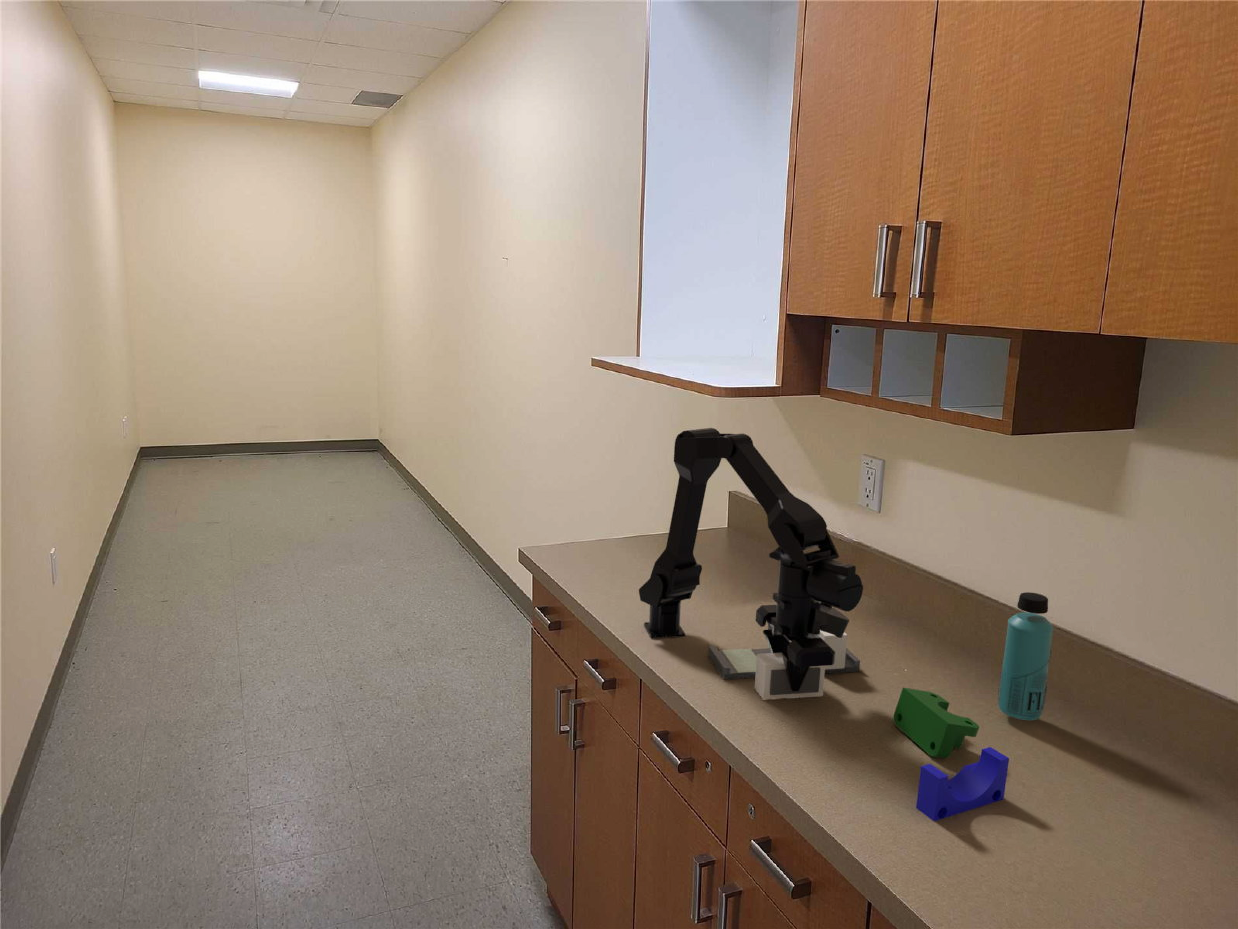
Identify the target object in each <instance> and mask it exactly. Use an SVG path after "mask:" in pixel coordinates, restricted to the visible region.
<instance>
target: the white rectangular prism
mask: <svg viewBox="0 0 1238 929" xmlns="http://www.w3.org/2000/svg"><path fill="white" fill-rule="evenodd" d="M825 675H826V674H825V666H810V668H809V669H808V671H807V674H806V676H805V678H804V680H803V682H802V685H801V687H800V689H799V691H792V690H791V687H790V683H789V680H788V676H787V672H786V668H785V665H784V661H783V657H782V654H781V653H763V654H757V659H756V674H755V678H754V690H755V689H756V690H755V691H756V692H757V694H758V693H759V694H758V695H759V697H760V696H761V697H762V698H763V699H771V700H774V699H773V698H786V699H796V698H797V699H799V697H800V699H801V698H815V697H823V696H824V685H825ZM761 697H760V698H761ZM762 698H761V699H762ZM763 699H762V700H763Z"/></svg>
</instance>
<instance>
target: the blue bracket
mask: <svg viewBox="0 0 1238 929" xmlns="http://www.w3.org/2000/svg"><path fill="white" fill-rule="evenodd" d="M1009 762H1010V758H1009V756H1006V755H1005V754H1003V753H1001V752H1000V751H999V750H997V749H995V748H993V747H991V746H988V747H985V748H981V752H980V756H979V760H978V762H975V763H974V762H973V763H970V764H966V765H964V766H962V768H961V769H960V771H959V772H957V773H956V774H955V775H954V776H953V777H951V778H949V775H948V774H946V773H945V772H943V771H942V770H940V769H939V768H937V767H936V766H934V765H933V764H931V763H927V764H924V765H921V766H920V771H919V772H920V773H919V780H918V789H917V800H916V807H915V808H916V810H918V811H920V812H921V813H922V814H923V815H924V816H926V817H927V818H929V819H930V820H931V821H933V822H937V821H939V820H943V819H946V818H948V817H953V816H956V815H958V814H962V813H964V812H967V811H971V810H974V809H977V808H980V807H983V806H987V805H990V804H993V803H996V802H999V801H1002V800H1004V799H1005V792H1006V791H1005V790H1006V783H1007V777H1008V772H1009V770H1008V769H1009Z"/></svg>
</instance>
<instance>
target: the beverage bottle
mask: <svg viewBox="0 0 1238 929" xmlns="http://www.w3.org/2000/svg"><path fill="white" fill-rule="evenodd" d="M1017 609H1019V610H1021V611H1022V612H1018V613H1015V615H1012V616H1011V617H1010V618H1008V619H1007V629H1006V637H1005V646H1004V647H1005V648H1004V655H1003V658H1002V666H1001V674H1000V678H999V680H1000V681H999V686H998V687H999V688H998V692H997V701H996V703H997V705H998V709H999V710H1000V711H1001V713H1003V714H1005V715H1007V716H1009V717H1011V718H1014V719H1018V720H1022V721H1023V720H1024V721H1036V720H1038V719H1040V718H1041V717H1042V715H1043V712H1044V709H1045V708H1044V707H1045V706H1044V705H1045V703H1046V695H1047V682H1048V672H1049V666H1050V664H1051V662H1050V659H1051V655H1052V639H1053V632H1054V625H1052V623H1051V622H1050V621H1049V619H1047V618H1046V617H1045V616H1043V615H1041V614H1047V613H1048V610H1049V598H1048V597H1047V596H1046V595H1043V594H1041V593H1036V592H1029V591H1028V592H1027V591H1026V592H1022V593H1020V594H1019V597H1018V601H1017Z"/></svg>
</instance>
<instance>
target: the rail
mask: <svg viewBox="0 0 1238 929" xmlns="http://www.w3.org/2000/svg"><path fill="white" fill-rule="evenodd" d="M763 653H771V650H770V648H769V647H768V648H766V647H765V648H737V649H736V648H735V649H722V650H718V649H717V648H716V646H715V645H708V653H707V654H708V657H707V658H708V659H709V660H710V662H711V663H712V665H713V666H714V667H715V669H716V670H717V672H718V674H719V675H720V676H721V678H722V680H735V679H734V678H740V679H755V674H756V659H757V654H763ZM860 664H861V659H859V658H858V657H857V655H855V654H854V653H852V651H850V650H849V648H847V647H846V656H845V667H844V668H841V669H825V675H827V674H837V673H838V674H839V673H840V674H841V673H843V674H844V673H855V672H856V673H859V672H860V666H861V665H860Z"/></svg>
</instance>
